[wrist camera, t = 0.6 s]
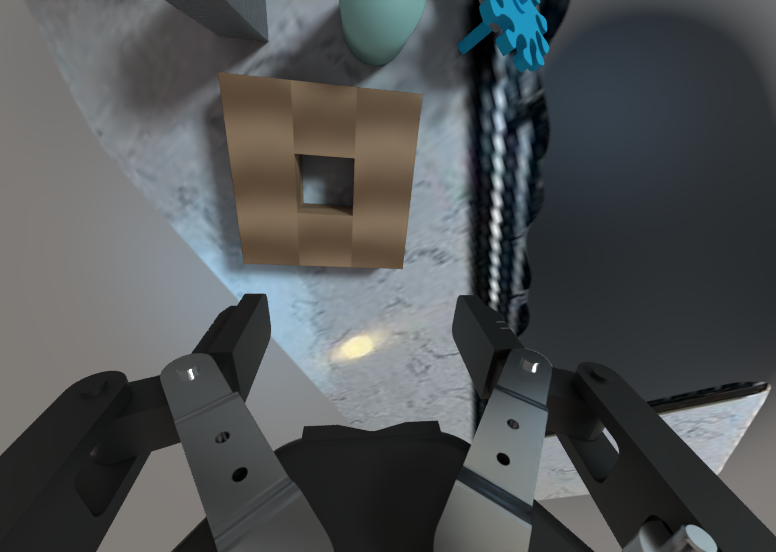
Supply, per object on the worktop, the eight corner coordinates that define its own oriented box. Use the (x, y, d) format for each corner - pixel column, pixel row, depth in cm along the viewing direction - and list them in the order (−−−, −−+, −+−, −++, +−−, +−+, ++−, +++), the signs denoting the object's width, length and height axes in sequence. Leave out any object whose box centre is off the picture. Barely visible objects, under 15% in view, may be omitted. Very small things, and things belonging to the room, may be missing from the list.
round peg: (343, -22, 25) (338, -82, 18) (411, -12, 25) (433, -65, 18) (341, 61, 27) (337, 39, 20) (404, 68, 28) (420, 49, 21)
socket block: (236, 79, 27) (217, 72, 23) (414, 98, 29) (422, 94, 25) (255, 248, 34) (243, 263, 30) (397, 254, 36) (402, 269, 32)
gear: (566, 49, 27) (529, 75, 21) (505, 89, 32) (461, 118, 26) (516, -96, 24) (457, -110, 18) (456, -28, 28) (394, -23, 23)
